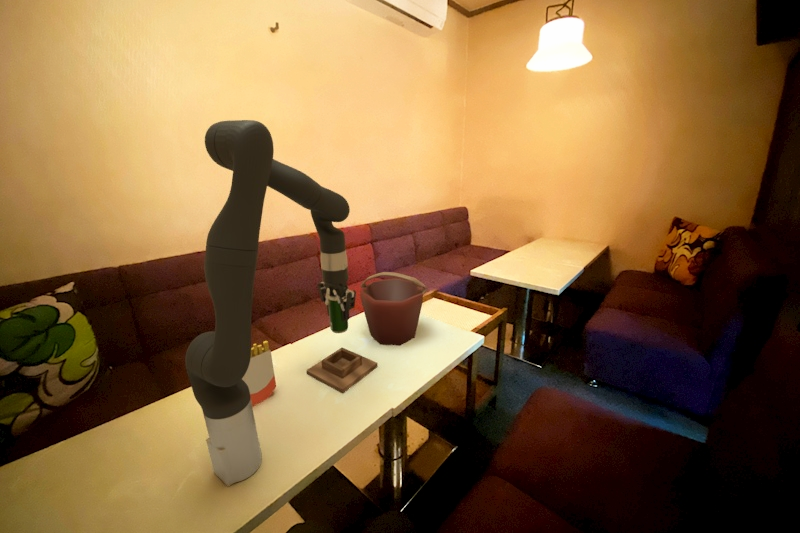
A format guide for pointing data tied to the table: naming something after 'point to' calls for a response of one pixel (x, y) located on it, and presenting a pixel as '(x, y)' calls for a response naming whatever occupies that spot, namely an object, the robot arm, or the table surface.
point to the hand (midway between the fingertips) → (338, 317)
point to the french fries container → (260, 374)
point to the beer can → (336, 315)
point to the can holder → (342, 369)
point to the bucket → (392, 307)
